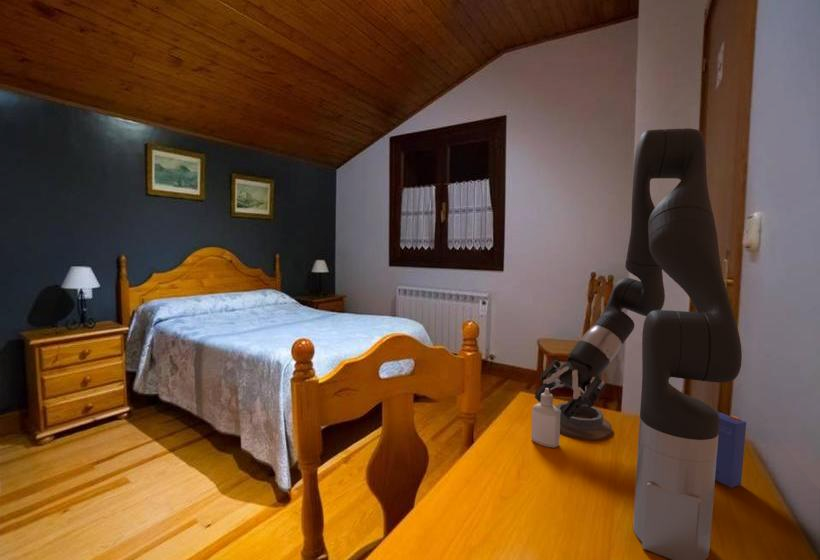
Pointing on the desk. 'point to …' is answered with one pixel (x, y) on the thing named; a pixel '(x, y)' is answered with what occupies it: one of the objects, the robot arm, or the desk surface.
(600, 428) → the bottle collar
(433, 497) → the desk surface
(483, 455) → the desk surface
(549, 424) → the eye dropper bottle
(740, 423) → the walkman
